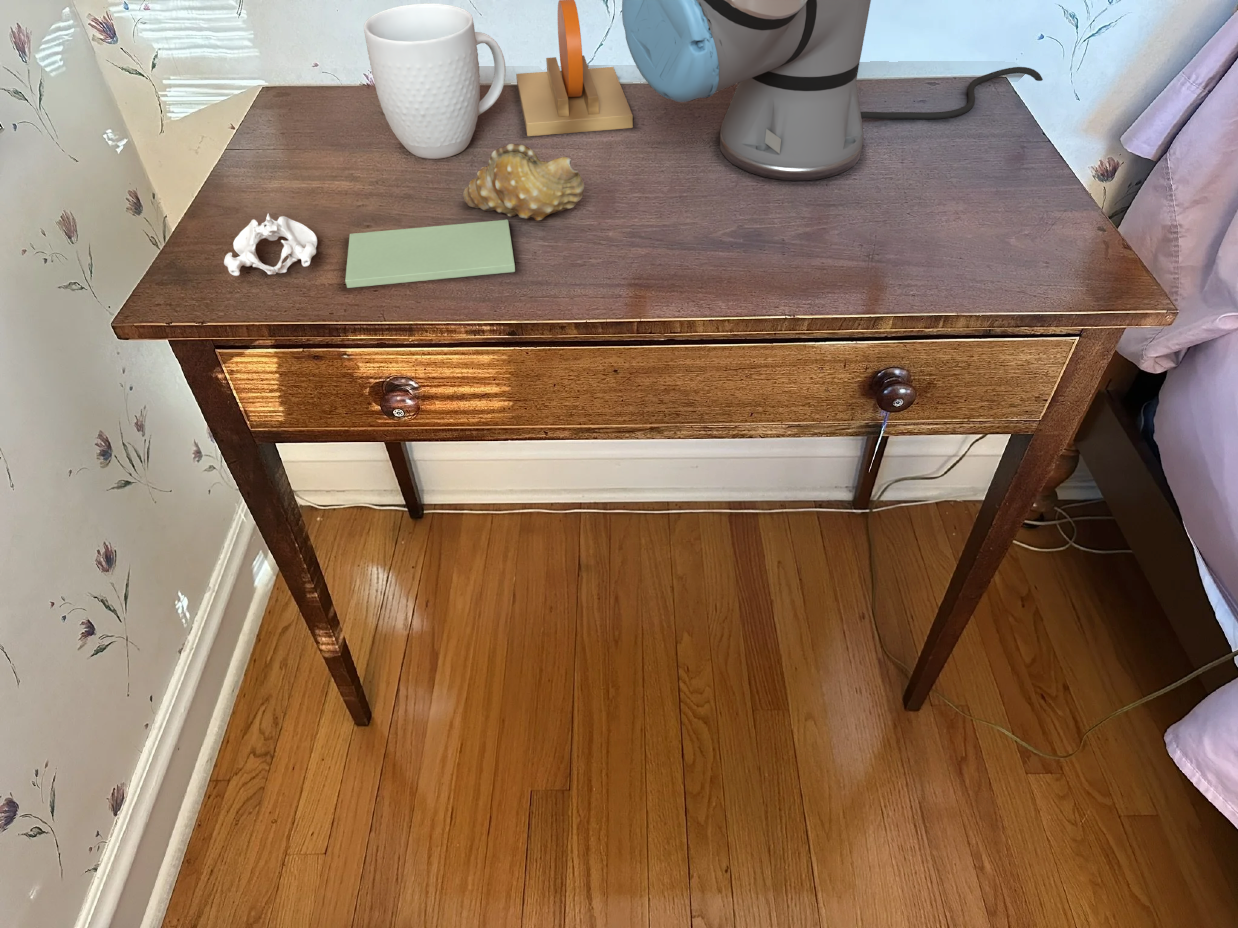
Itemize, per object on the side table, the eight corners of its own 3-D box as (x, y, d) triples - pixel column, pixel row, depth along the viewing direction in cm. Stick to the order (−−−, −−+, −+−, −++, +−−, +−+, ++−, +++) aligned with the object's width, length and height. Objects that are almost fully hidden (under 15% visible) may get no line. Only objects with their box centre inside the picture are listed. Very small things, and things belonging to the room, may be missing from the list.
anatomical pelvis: (214, 254, 77) (220, 210, 81) (231, 293, 80) (236, 248, 84) (310, 243, 78) (311, 199, 82) (322, 281, 81) (323, 238, 85)
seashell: (570, 191, 93) (488, 243, 92) (531, 118, 89) (445, 171, 88) (597, 201, 85) (508, 258, 84) (556, 121, 81) (462, 179, 80)
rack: (613, 79, 112) (613, 50, 109) (632, 128, 102) (632, 97, 99) (517, 86, 110) (514, 57, 108) (527, 136, 101) (524, 106, 98)
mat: (508, 226, 87) (508, 219, 86) (515, 272, 81) (514, 264, 81) (351, 241, 85) (349, 233, 85) (347, 288, 80) (345, 280, 79)
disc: (573, 76, 109) (569, -13, 102) (584, 110, 102) (581, 17, 95) (560, 77, 108) (555, -12, 101) (570, 111, 101) (565, 18, 94)
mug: (482, 106, 106) (468, -13, 97) (536, 138, 100) (526, 14, 91) (369, 143, 100) (343, 19, 90) (420, 180, 94) (397, 51, 84)
